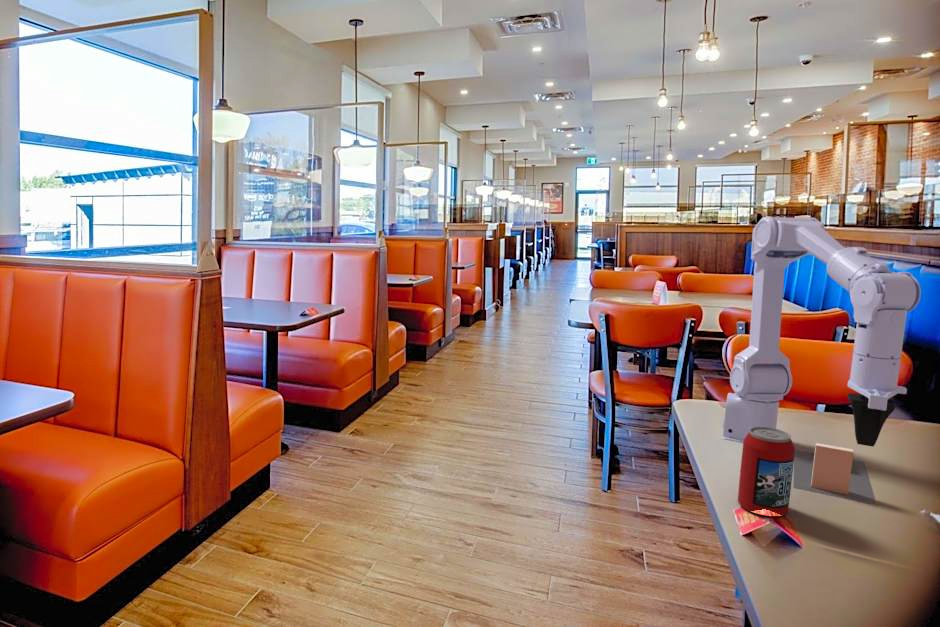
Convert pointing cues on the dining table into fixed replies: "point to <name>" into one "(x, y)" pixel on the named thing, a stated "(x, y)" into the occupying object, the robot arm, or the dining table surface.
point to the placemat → (857, 491)
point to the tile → (832, 468)
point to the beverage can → (766, 470)
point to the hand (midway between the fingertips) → (865, 444)
